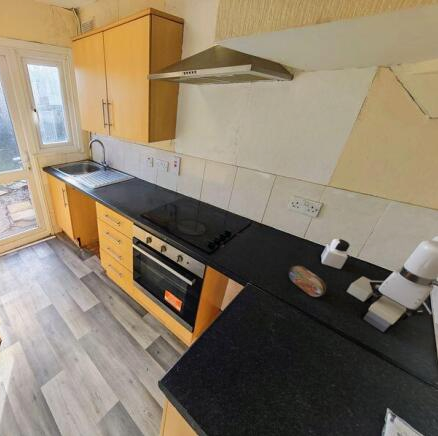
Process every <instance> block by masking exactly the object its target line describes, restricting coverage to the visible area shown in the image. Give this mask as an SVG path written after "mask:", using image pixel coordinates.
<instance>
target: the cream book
mask: <svg viewBox="0 0 438 436" xmlns="http://www.w3.org/2000/svg"><path fill="white" fill-rule="evenodd" d="M369 310H370V311H371V312H373V313H375V314H376V315H378V316H379V317H381V318H383V319H384V320H386V321H387V322H389V323H391V324H392V325H394V324H395V323H396V322H398V319H399V318H400V317H401V315H402V314H403V313H404V312H405V311H406V307H405V306H403V305H401V304H400V303H398V302H396V301H394V300H392V299H391V298H389V297H387V296H385V295H382V296H381V298H380V299H379V300H377V301H376V302H375V303H373V304H372V305H371V304H370V306H369V307H368V311H369ZM392 325H391V326H392Z"/></svg>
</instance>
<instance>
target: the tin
mask: <svg viewBox="0 0 438 436" xmlns="http://www.w3.org/2000/svg"><path fill="white" fill-rule="evenodd" d="M288 277H289V279H290V281H291V282H292V283H293V284H294V285H296V286H297V287H298V288H299V289H301V290H302V291H303V292H304V293H306V294H307V295H309V296H310V297H313V298H319V297H321V296H323V295H325V293H326V292H327V285H326V283H325V281H324V280H323V279H322V278H321V277H319V276H318V275H316V274H315V273H314V272H312V271H310V269H307V268H306V267H305V266H302V265H294V266H291V267H290V268H289V269H288Z"/></svg>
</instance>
